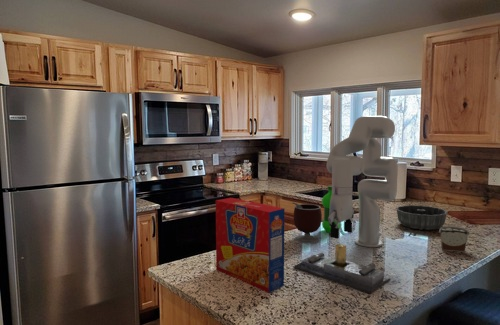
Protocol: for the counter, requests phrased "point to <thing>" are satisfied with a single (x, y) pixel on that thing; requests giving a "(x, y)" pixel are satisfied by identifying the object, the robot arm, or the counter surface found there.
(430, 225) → the bundt pan
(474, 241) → the counter surface
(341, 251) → the brass pin
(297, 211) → the mate gourd
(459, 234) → the food container
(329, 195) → the plastic bottle
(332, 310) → the counter surface
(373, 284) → the gray slotted panel
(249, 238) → the pasta box
